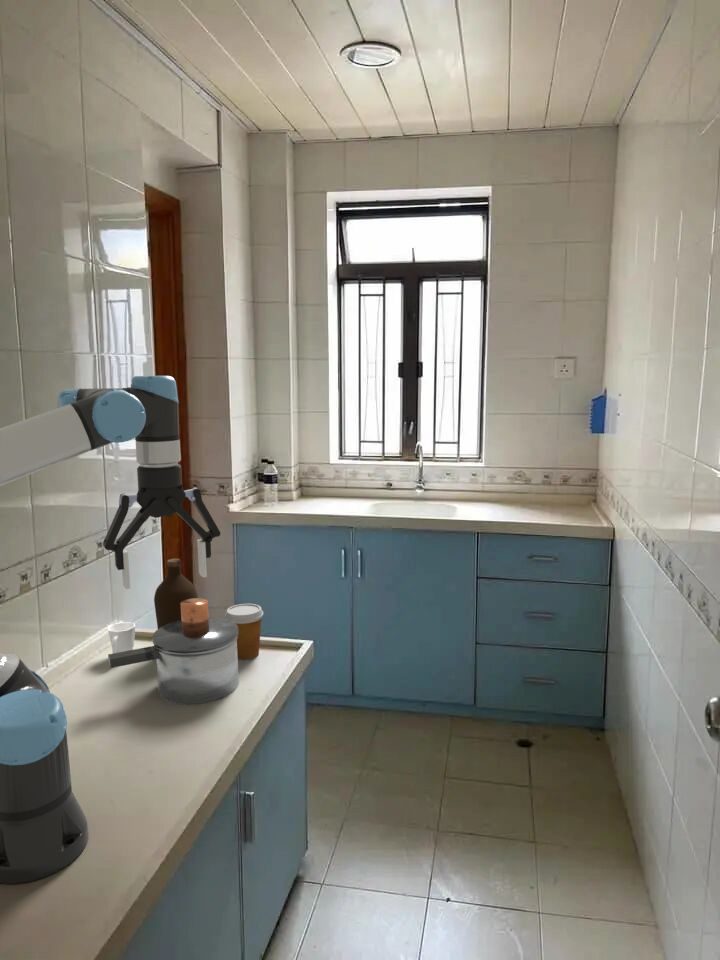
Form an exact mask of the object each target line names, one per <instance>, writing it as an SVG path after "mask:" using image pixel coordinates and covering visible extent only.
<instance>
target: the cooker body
mask: <svg viewBox="0 0 720 960" xmlns="http://www.w3.org/2000/svg"><path fill="white" fill-rule="evenodd" d="M237 638H238V636H237ZM237 638H236V639H235V640H234V641H232V642H231V643H229V644H227V645H225V646H222V647H219V648H216V649H213V650H208V651H203V652H195V653H174V652H168V651H164V650H161V649H159V648H157V647H156V646H155V645H154V644H153V645H152V646H147V647H141V648H135V649H134V648H133V650H129V651H124V652H119V653H113V652H112V653H110V654H107V655H108V656H107V659H108V665H109V668H110V669H114V668H118V667H123V666H128V665H134V664H140V663H144V662H149V661H153V660H154V661H155V660H156V671H157V673H156V674H157V685H158V694H159V695H160V697H161V698H162V699H163V700H165V701H167V702H170V703H174V704H179V705H196V704H197V705H198V704H205V703H209V702H213V701H218V700H220V699H222V698H225V697H226V696H228V695H230V694H232V693H234V691H235V690H236V689H237V688H238V686H239V684H240V679H239V678H240V677H239V661H238V660H239V659H238V655H237Z"/></svg>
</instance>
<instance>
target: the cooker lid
mask: <svg viewBox="0 0 720 960" xmlns="http://www.w3.org/2000/svg"><path fill="white" fill-rule="evenodd" d="M181 619H182V620H180V621H176V622H172V623H169V624H167V625H165V626H163V627H161V628H159V629H158V628H157V629H156V630H155V631H154V632H153V634H152V643H153V644H152V645H153V646H154V645H155V646H156V647H157V648H159V649H161V650H164V651H168V652H174V653H195V652H203V651H208V650H213V649H216V648H219V647H222V646H225V645H227V644H229V643H231V642H232V641H234V640H235V639H236V638H237V636H238V633H239V632H238V626H237V625H236V624H235V623H234V622H232V621H230V620H227V619H226V618H221V617H210V616H209V601H208V599H205V598H200V597H198V598H192V599H187V600H184V601H182V602H181Z"/></svg>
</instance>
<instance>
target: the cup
mask: <svg viewBox="0 0 720 960" xmlns="http://www.w3.org/2000/svg"><path fill="white" fill-rule="evenodd" d="M107 632H108V636H109V639H110V644H111V647H112V648H111V649H112V654H113V653H119V652H124V651H129V650H134V647H135V635H136V624H135V622H131V621H130V622H129V621H123V622H116V623H113V624H111V625H109V626H107Z"/></svg>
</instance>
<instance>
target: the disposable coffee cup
mask: <svg viewBox="0 0 720 960" xmlns="http://www.w3.org/2000/svg"><path fill="white" fill-rule="evenodd" d="M224 616H225V619H227V620H230V621H232V622H234V623H235V624H236V625H237V626H238V632H239V633H238V638H237V655H238V660H250V659H253V658H256V657H257V656H259V654H260V643H261V642H260V641H261V640H260V639H261V631H262V630H261V629H262V618H263V616H264V611H263V609H262V607H261V605H258V604H255V603H241V604H239V603H238V604H236V605H232V606H230V607H228V608H227V610H226V612H225V615H224Z"/></svg>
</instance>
